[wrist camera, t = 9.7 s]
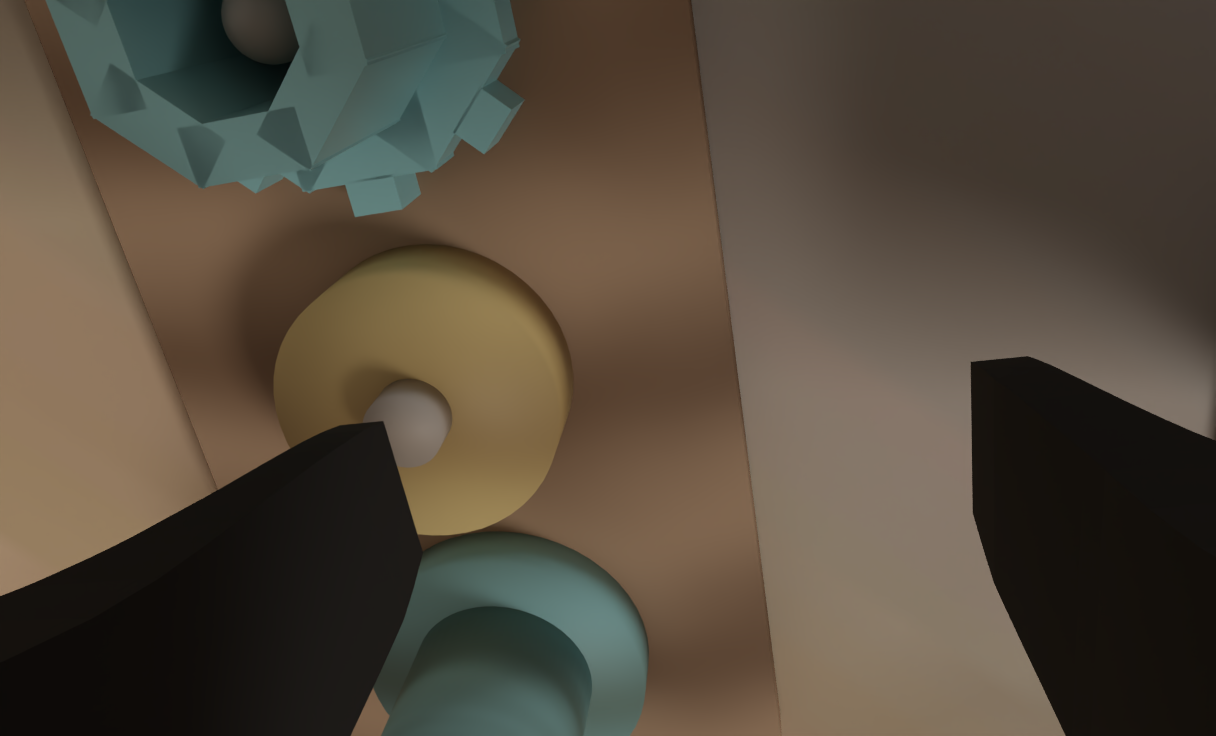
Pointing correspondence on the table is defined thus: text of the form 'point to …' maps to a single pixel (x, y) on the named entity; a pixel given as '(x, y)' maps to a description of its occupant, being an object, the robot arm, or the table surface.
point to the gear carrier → (497, 378)
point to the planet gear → (299, 90)
